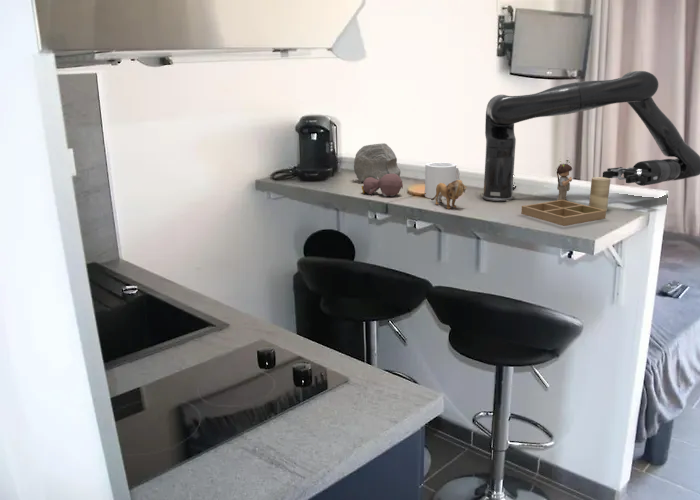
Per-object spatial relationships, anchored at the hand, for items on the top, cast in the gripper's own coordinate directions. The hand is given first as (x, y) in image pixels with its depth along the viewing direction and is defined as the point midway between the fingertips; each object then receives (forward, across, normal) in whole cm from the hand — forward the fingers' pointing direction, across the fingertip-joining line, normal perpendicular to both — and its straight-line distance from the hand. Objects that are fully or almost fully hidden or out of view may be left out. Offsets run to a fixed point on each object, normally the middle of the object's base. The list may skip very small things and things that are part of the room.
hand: (615, 177), depth 190 cm
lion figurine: (+40, -29, +10) cm, 50 cm away
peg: (+6, 0, +10) cm, 11 cm away
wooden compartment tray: (+21, 0, +10) cm, 23 cm away
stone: (+40, -73, +10) cm, 84 cm away
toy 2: (+7, -13, +10) cm, 18 cm away
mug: (+32, -42, +10) cm, 54 cm away
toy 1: (+49, -54, +10) cm, 74 cm away
